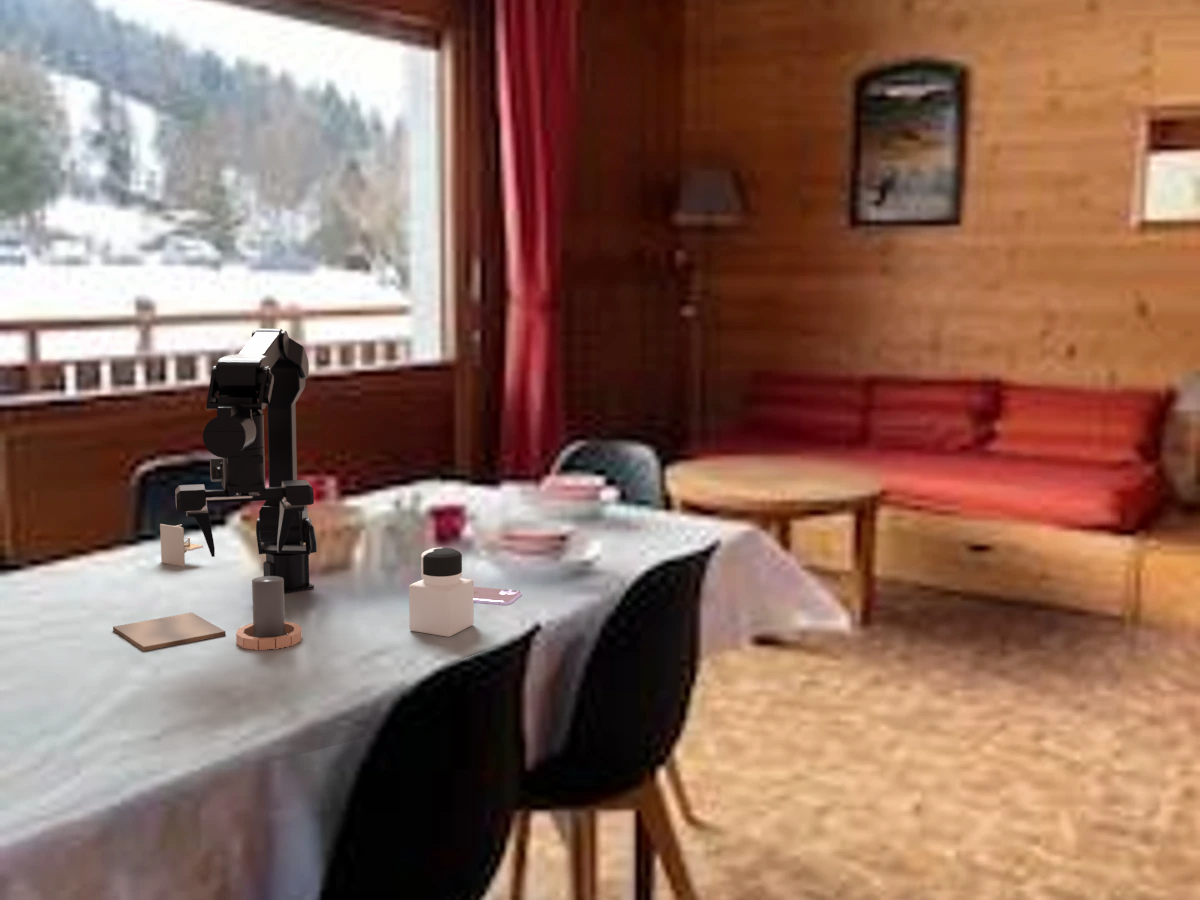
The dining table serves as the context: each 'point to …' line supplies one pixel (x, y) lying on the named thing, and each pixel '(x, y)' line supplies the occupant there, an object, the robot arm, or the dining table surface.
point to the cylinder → (268, 606)
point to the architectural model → (174, 545)
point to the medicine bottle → (441, 595)
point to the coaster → (168, 631)
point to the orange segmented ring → (271, 642)
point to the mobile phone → (495, 595)
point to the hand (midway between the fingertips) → (246, 554)
